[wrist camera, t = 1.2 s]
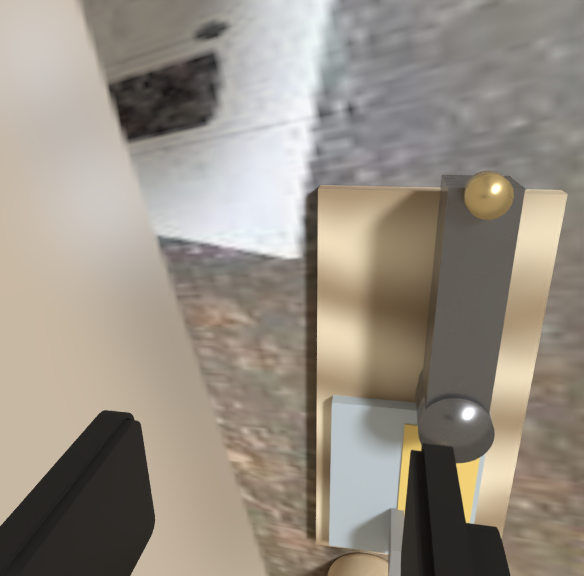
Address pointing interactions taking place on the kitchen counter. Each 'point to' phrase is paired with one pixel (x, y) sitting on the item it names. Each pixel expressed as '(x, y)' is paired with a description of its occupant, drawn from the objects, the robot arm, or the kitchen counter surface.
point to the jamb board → (418, 317)
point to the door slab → (379, 475)
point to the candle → (359, 566)
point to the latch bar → (467, 310)
